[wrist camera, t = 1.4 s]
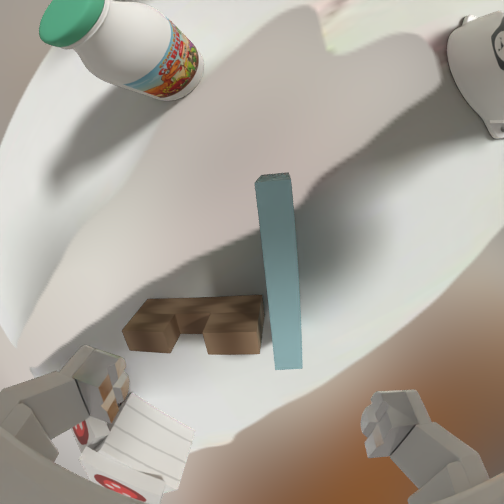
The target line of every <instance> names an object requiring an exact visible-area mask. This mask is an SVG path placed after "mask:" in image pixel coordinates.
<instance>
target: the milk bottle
mask: <svg viewBox="0 0 504 504" xmlns="http://www.w3.org/2000/svg"><path fill="white" fill-rule="evenodd" d="M39 35H40V38H41V39H42V41H44V42H45V43H47V44H49V45H52V46H56V47H61V48H63V49H74V50H75V51H76V52H77V54H78V55H79V57H80V58H81V60H82V62H83V64H84V65H85V67H86V68H87V69H88V70H89V71H90V72H91V73H92V74H93V75H95V76H96V77H98V78H99V79H101V80H103V81H105V82H108V83H110V84H113V85H116V86H119V87H122V88H125V89H128V90H131V91H134V92H137V93H140V94H143V95H146V96H149V97H152V98H155V99H159V100H163V101H171V100H176V99H179V98H182V97H184V96H185V95H187V94H189V93H190V92H191V91H192V90H193V89H194V88H195V87H196V86H197V85H198V83H199V82H200V80H201V78H202V75H203V71H204V60H203V57H202V55H201V53H200V52H199V50H198V49H197V48H196V47H195V46H194V45H193V43H192V42H191V41H190V40H189V39H188V38H187V37H186V36H185V35H184V34H183V33H182V32H181V31H180V30H179V29H178V28H177V27H176V26H175V25H174V24H173V23H172V22H171V21H170V20H169V19H168V18H167V17H165V16H164V15H163V14H162V13H161V12H159V11H158V10H156V9H154V8H153V7H151V6H148V5H146V4H142V3H138V2H119V1H112V0H53V1H52V2H51V4H50V5H49V6H48V8H47V9H46V11H45V13H44V15H43V17H42V19H41V22H40V27H39Z"/></svg>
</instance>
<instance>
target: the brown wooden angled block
mask: <svg viewBox="0 0 504 504" xmlns="http://www.w3.org/2000/svg"><path fill="white" fill-rule="evenodd" d="M263 323H264V306H263V298H262V295H244V296H225V297H201V298H168V299H147V300H146V302H145V303H144V304H143V305H142V306H141V308H140V309H139V310H138V311H137V312H136V314H135V315H134V316H133V317H132V319H131V320H130V321H129V322H128V323H127V325H126V326H125V327H124V328H123V330H122V332H123V335H124V338H125V340H126V342H127V345H128V347H129V350H131V351H143V352H157V353H171V351H172V349H173V347H174V346H175V344H176V342H177V340H178V338H179V336H180V334H203V337H204V341H205V344H206V348H207V352H208V354H212V355H236V354H260V347H261V339H262V331H263Z"/></svg>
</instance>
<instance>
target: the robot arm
mask: <svg viewBox="0 0 504 504" xmlns="http://www.w3.org/2000/svg"><path fill="white" fill-rule="evenodd" d="M447 57H448V62H449V66H450V70H451V73H452V75H453V78H454V80H455V82H456V84H457V86H458V88H459V90H460V92H461V94H462V95H463V97H464V98H465V100H466V101H467V102H468V104H469V105H470V106H471V107H472V108H473V109H474V110H475V111H476V112H477V113H478V114H479V116H480V117H481V118H482V119H483V121H484V123H485V125H486V127H487V129H488V131H489V133H490V134H491V136H492V137H493V138H495V139H499V138H504V12H503V11H497V12H493V13H490V14H488V15H485V16H482V17H479V18H477V17H475V16H473V15H468V16H466V17H465V18H464V21H463V24H462V26H461V27H459V28H457V29H455V30H454V31H453V32H452V33H451V35H450V36H449V39H448V43H447ZM125 368H126V363H125V359H124V358H122V357H120V356H117V355H114V354H111V353H108V352H105V351H102V350H99V349H96V348H93V347H90V346H88V345H83V346H81V347H80V349H79V350H78V351H77V352H76V353H75V354H74V355H73V357H72V358H71V359H70V360H69V361H68V362H67V363H66V365H65V366H64V367H63V368H62V369H61V371H60V372H57V371H54V372H51V373H49V374H46V375H43V376H40V377H37V378H34V379H31V380H28V381H26V382H23V383H20V384H17V385H14V386H11V387H8V388H4V389H3V390H2V391H1V392H0V504H149V503H146V502H143V501H140V500H137V499H134V498H131V497H128V496H125V495H123V494H120V493H117V492H115V491H112V490H110V489H107V488H105V487H103V486H100V485H98V484H96V483H94V482H91V481H89V480H87V479H85V478H83V477H81V476H79V475H77V474H74V473H73V472H71V471H69V470H67V469H65V468H63V467H61V466H60V465H58V464H56V463H54V461H55V460H56V458H57V456H58V454H59V452H58V450H57V448H56V447H55V445H54V444H53V443H52V441H51V439H53V438H55V437H56V436H58V435H60V434H62V433H63V432H65V431H67V430H69V429H70V428H72V427H74V426H76V425H77V424H79V423H81V422H82V421H84V420H86V419H87V418H89V417H90V416H92V417H94V418H97V419H100V420H102V421H105V422H108V423H111V424H112V422H113V420H114V418H115V416H116V415H117V413H118V411H119V408H118V404H119V403H121V402H123V401H124V400H125V398H126V396H127V394H128V390H129V377H128V375H127V374H126V373H125V371H124V369H125ZM371 402H372V404H371V405H369V406H368V407H366V408H365V410H364V412H363V414H362V419H361V429H362V433H363V434H364V435H365V436H366V437H367V440H366V442H365V446H366V451H367V456H368V458H374V457H385V456H390V458H391V459H392V460H393V461H394V463H395V464H396V465H397V466H398V467H399V468H400V469H401V470H402V471H403V472H404V473H405V474H406V476H407V477H408V478H409V479H410V480H411V481H412V482H413V483H414V484H415V485H416V486H417V487H418V489H419V490H418V491H416V492H415V493H414V494H413V495H411V496H410V497H409V499H408V504H504V472H502V473H501V474H499V475H497V476H495V477H493V478H491V479H489V477H488V474H487V472H486V469H485V467H484V465H483V462H482V460H481V458H480V456H479V454H478V452H476V451H475V450H473V449H472V448H471V447H469V446H468V445H466V444H465V443H464V442H462V441H461V440H459V439H458V438H457V437H455V436H454V435H452V434H451V433H450V432H448V431H447V430H445V429H444V428H443V427H441V426H440V425H438V424H437V423H436V422H431V419H430V417H429V415H428V413H427V411H426V409H425V406H424V404H423V402H422V400H421V398H420V396H419V394H418V392H417V391H416V390H402V391H401V390H399V391H377V392H376V393H374V394H373V396H372V398H371Z"/></svg>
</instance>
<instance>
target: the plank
mask: <svg viewBox="0 0 504 504" xmlns="http://www.w3.org/2000/svg"><path fill="white" fill-rule="evenodd" d="M255 190H256V199H257V207H258V215H259V224H260V233H261V242H262V251H263V259H264V268H265V277H266V286H267V295H268V304H269V314H270V323H271V332H272V342H273V351H274V361H275V370H285V369H302V335H301V311H300V291H299V274H298V258H297V244H296V231H295V219H294V207H293V196H292V186H291V178H290V175H289V173H278V174H267V175H261V176H260V177H259V178H258V179H257V181H256V182H255Z"/></svg>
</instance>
